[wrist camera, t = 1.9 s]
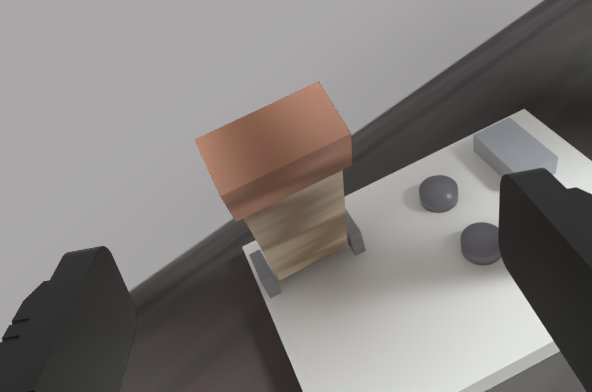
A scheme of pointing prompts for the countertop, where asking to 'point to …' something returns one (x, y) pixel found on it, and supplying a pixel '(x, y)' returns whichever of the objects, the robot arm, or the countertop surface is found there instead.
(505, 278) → the panel
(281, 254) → the brown long rectangular block
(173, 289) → the countertop surface
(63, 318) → the robot arm
